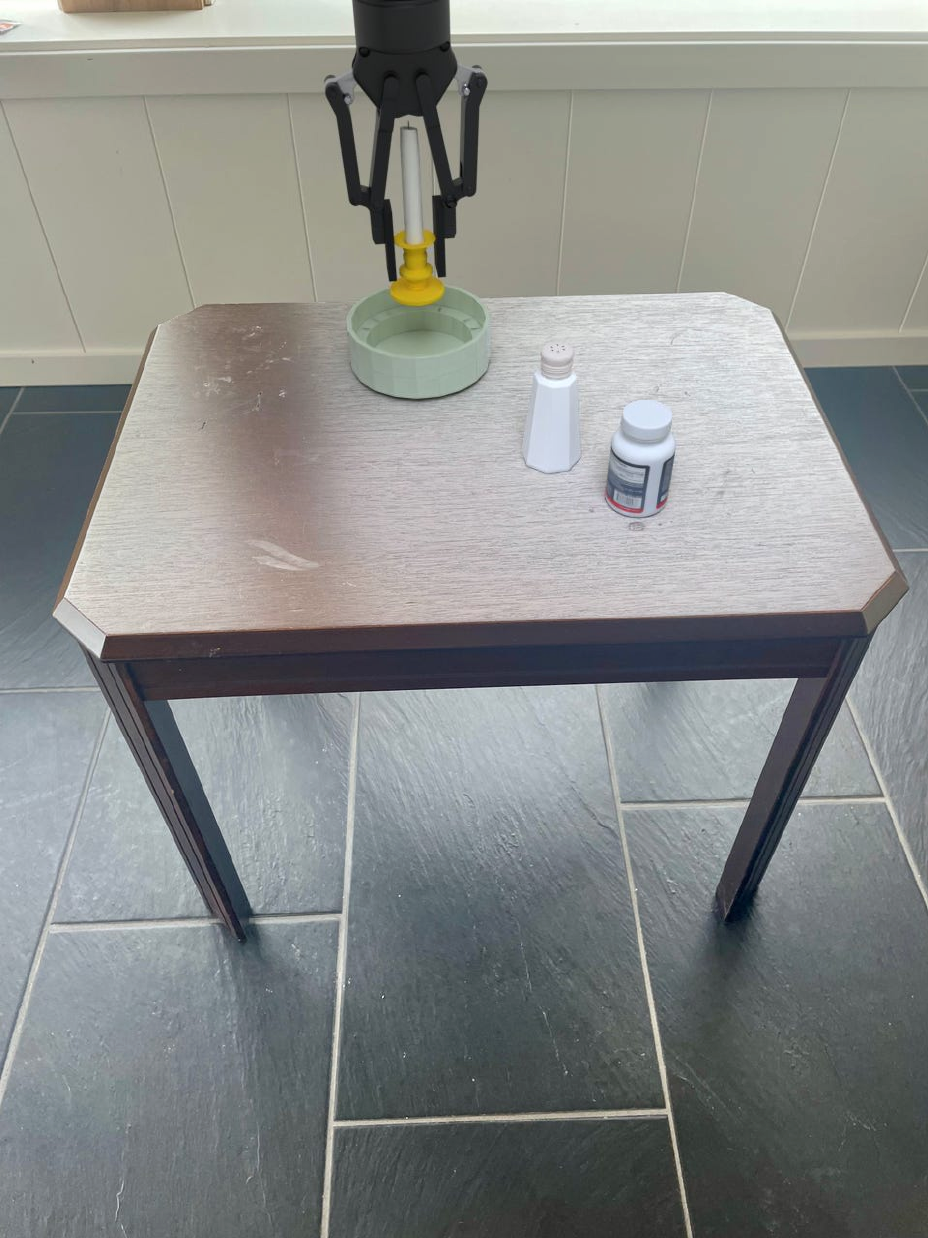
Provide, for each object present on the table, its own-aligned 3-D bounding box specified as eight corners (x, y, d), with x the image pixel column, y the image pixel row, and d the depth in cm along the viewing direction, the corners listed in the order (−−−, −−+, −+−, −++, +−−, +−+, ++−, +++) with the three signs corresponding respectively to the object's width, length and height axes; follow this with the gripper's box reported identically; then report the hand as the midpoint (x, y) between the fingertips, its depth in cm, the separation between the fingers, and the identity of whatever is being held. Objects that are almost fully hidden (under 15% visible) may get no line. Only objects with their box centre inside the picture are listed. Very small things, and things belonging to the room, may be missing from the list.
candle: (410, 273, 95) (400, 104, 83) (455, 287, 93) (451, 116, 81) (379, 297, 92) (364, 124, 80) (424, 312, 90) (415, 137, 78)
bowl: (356, 409, 92) (350, 363, 89) (347, 331, 102) (342, 287, 98) (500, 395, 94) (500, 350, 90) (478, 320, 103) (478, 276, 99)
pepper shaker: (556, 430, 90) (563, 323, 82) (593, 460, 87) (604, 352, 78) (508, 451, 88) (511, 343, 80) (544, 482, 85) (551, 374, 76)
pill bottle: (650, 474, 85) (663, 388, 79) (677, 511, 82) (693, 424, 75) (594, 487, 84) (604, 401, 78) (619, 524, 81) (632, 438, 74)
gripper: (501, -37, 76) (498, 246, 94) (287, -25, 75) (324, 260, 92) (518, -10, 71) (511, 284, 89) (289, 4, 70) (327, 300, 87)
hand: (416, 271), depth 91 cm, fingers closed on candle, 4 cm apart
